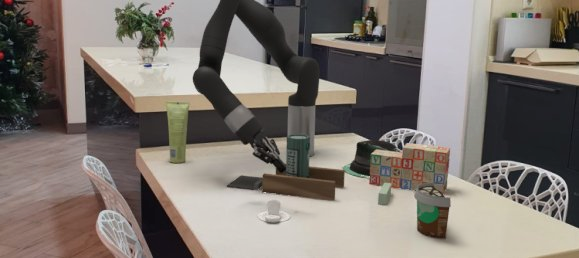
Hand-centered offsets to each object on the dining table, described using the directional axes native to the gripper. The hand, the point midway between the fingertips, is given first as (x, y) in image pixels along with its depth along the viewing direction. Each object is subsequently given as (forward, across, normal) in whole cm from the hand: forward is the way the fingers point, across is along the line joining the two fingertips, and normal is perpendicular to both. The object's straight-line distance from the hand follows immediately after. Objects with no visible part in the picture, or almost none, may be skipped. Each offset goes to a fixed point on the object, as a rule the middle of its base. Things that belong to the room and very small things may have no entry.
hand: (284, 170), depth 169 cm
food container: (+32, -20, -25) cm, 46 cm away
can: (+6, 0, +1) cm, 6 cm away
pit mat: (-4, 0, +11) cm, 12 cm away
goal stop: (+23, 0, -16) cm, 29 cm away
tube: (-25, +14, +32) cm, 43 cm away
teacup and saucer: (+6, -25, +2) cm, 26 cm away
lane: (+8, 0, -1) cm, 8 cm away
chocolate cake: (+19, +28, -11) cm, 35 cm away
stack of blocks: (+27, +14, -20) cm, 36 cm away
